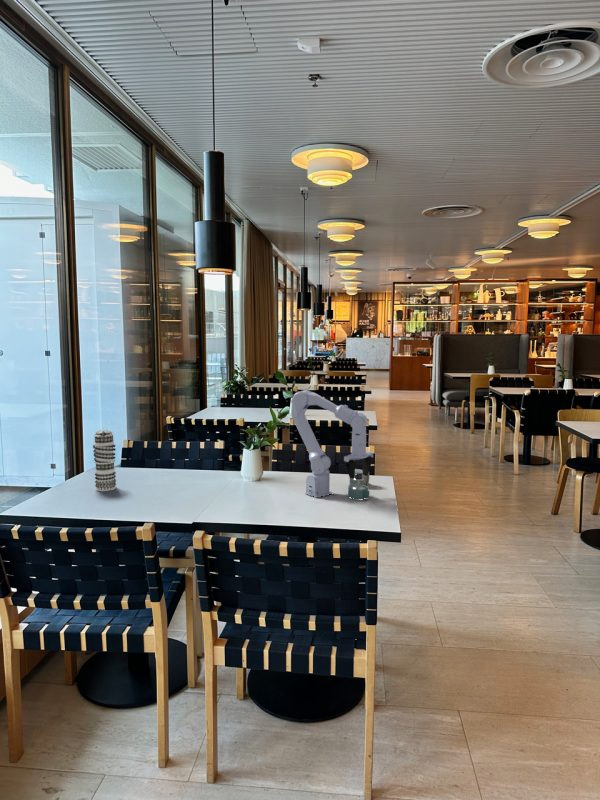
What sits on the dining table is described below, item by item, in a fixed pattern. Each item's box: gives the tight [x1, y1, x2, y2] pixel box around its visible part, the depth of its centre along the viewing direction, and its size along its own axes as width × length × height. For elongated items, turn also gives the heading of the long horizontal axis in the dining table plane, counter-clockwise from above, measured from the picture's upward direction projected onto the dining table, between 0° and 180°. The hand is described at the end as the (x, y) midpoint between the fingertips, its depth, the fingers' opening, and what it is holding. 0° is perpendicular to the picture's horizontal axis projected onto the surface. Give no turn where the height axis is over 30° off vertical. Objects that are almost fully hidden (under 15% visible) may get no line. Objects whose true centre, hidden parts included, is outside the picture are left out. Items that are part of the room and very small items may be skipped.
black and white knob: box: [351, 473, 365, 489], centre depth 226 cm, size 6×6×6 cm
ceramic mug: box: [349, 468, 370, 487], centre depth 245 cm, size 11×8×8 cm
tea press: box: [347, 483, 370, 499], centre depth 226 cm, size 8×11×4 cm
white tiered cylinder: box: [92, 429, 117, 492], centre depth 238 cm, size 9×9×25 cm
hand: (358, 476), depth 226 cm, fingers open, 7 cm apart
